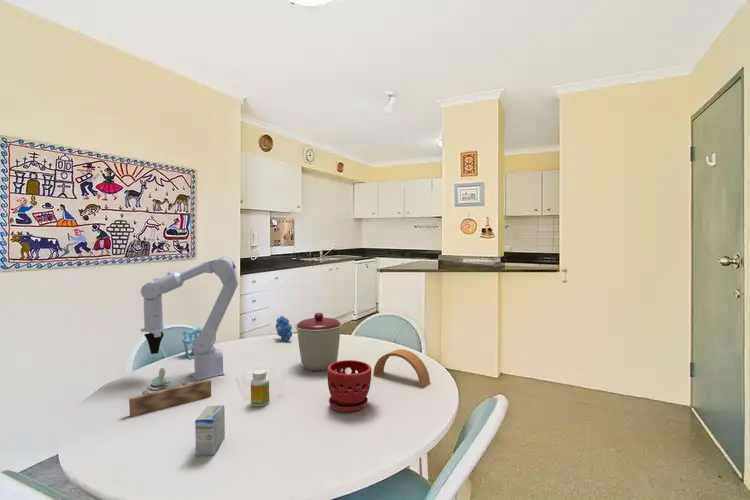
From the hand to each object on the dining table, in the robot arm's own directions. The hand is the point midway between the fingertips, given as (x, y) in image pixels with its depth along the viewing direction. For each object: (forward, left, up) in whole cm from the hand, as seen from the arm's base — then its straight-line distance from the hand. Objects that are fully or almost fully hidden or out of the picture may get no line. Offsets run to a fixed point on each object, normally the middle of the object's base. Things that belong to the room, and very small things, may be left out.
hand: (154, 353), depth 138 cm
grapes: (-57, -16, -10) cm, 60 cm away
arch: (-67, +57, -10) cm, 88 cm away
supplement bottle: (-21, +44, -10) cm, 49 cm away
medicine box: (-2, +60, -10) cm, 60 cm away
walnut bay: (0, +23, -9) cm, 24 cm away
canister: (-52, +27, -10) cm, 59 cm away
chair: (-18, -20, -10) cm, 29 cm away
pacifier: (+1, +9, -10) cm, 13 cm away
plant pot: (-41, +63, -10) cm, 75 cm away
